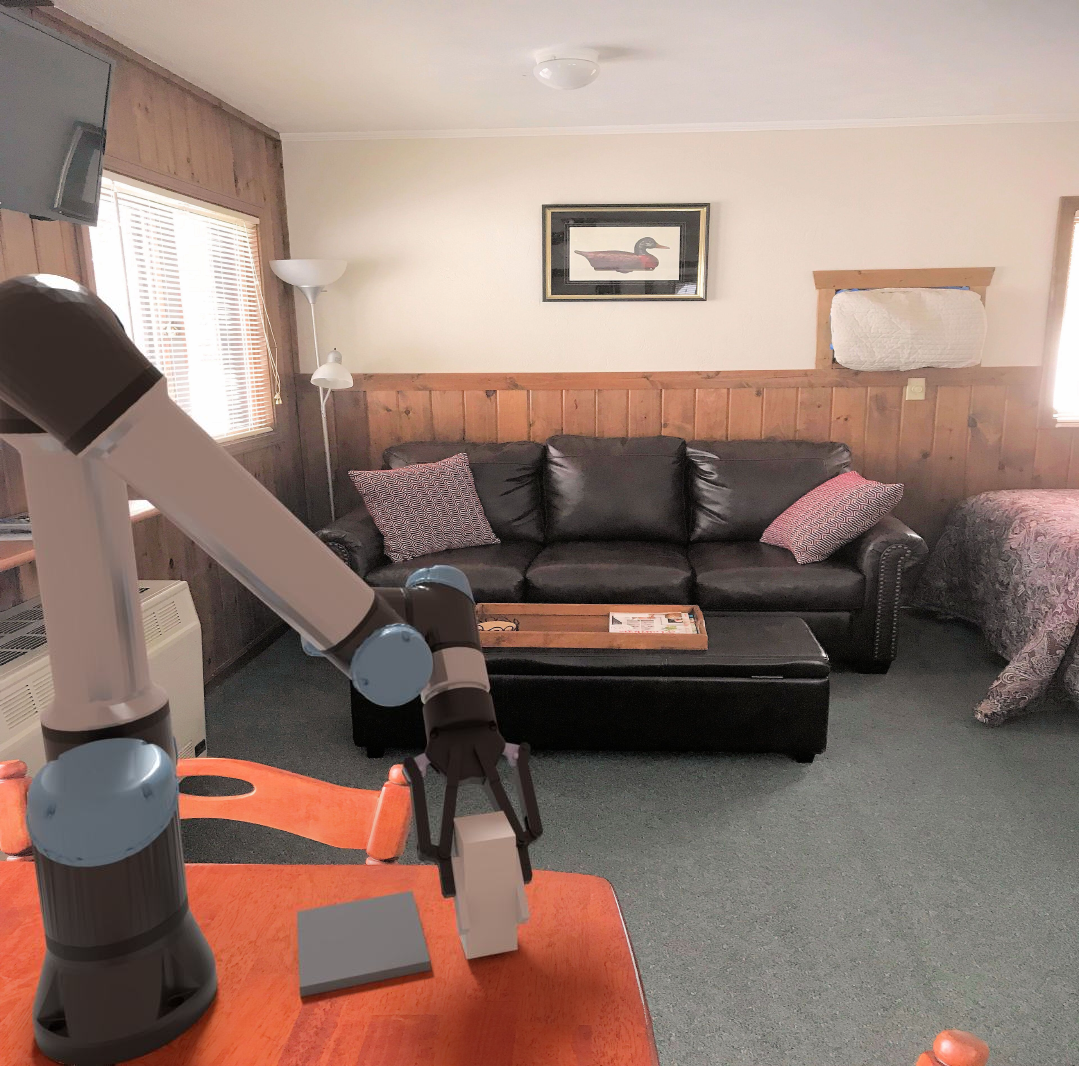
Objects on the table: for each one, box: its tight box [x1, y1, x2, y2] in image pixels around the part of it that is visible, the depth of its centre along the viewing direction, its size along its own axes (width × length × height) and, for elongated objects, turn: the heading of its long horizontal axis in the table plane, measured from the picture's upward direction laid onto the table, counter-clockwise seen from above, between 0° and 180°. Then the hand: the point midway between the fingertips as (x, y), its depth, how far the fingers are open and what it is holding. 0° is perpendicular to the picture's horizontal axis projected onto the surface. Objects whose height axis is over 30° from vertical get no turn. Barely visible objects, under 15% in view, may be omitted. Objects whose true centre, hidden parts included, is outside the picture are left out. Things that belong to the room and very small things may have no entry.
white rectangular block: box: [453, 811, 518, 960], centre depth 87 cm, size 5×5×12 cm
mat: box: [296, 890, 432, 998], centre depth 89 cm, size 12×12×1 cm
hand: (494, 926), depth 84 cm, fingers closed on white rectangular block, 5 cm apart
